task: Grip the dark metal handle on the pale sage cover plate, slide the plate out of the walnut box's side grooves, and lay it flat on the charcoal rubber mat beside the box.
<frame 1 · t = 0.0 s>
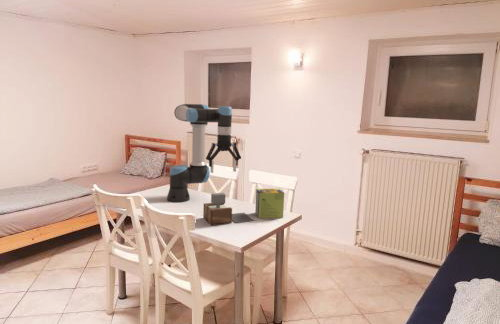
hand: (223, 171, 199), 28 cm above the table, tool pointing down, fingers open, 13 cm apart
protein box: (268, 215, 215), on the table
cover plate: (218, 209, 201), point 6 cm above the table, touching walnut box
walnut box: (217, 220, 202), on the table
rubber mat: (239, 217, 208), on the table
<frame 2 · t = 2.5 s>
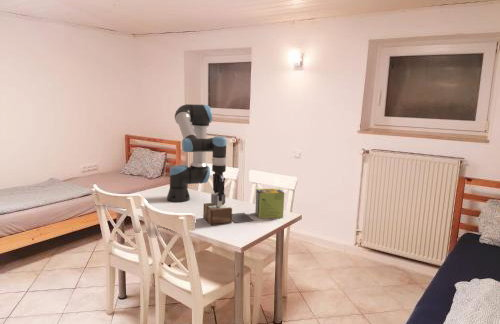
hand: (218, 205, 200), 9 cm above the table, tool pointing down, fingers closed on cover plate, 4 cm apart
cover plate: (218, 209, 201), point 6 cm above the table, touching gripper, walnut box
everything else where it was.
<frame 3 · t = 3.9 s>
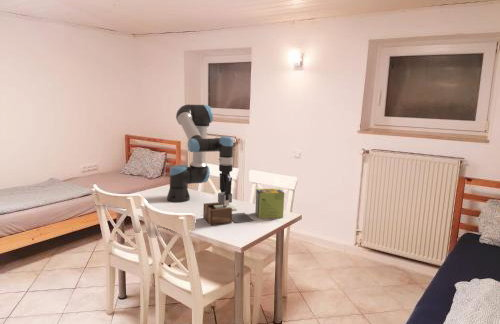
hand: (224, 204, 202), 9 cm above the table, tool pointing down, fingers closed on cover plate, 4 cm apart
cover plate: (224, 208, 202), point 7 cm above the table, touching gripper
everything else where it was.
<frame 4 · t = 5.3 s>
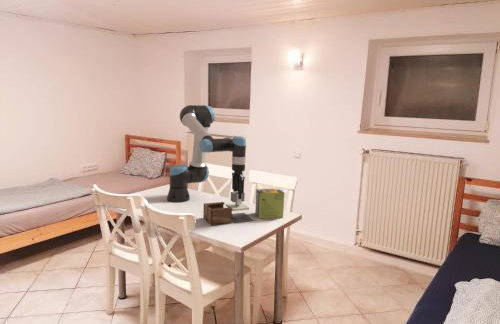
hand: (237, 203, 205), 9 cm above the table, tool pointing down, fingers closed on cover plate, 4 cm apart
cover plate: (237, 207, 206), point 7 cm above the table, touching gripper
everything else where it was.
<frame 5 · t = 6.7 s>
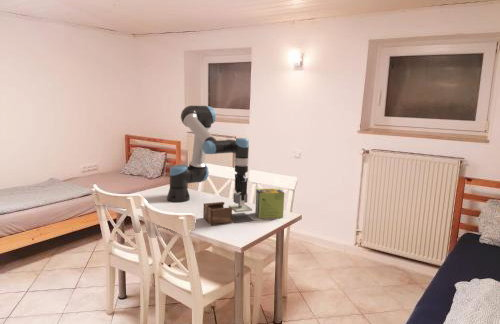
hand: (240, 204, 206), 8 cm above the table, tool pointing down, fingers closed on cover plate, 4 cm apart
cover plate: (240, 208, 207), point 6 cm above the table, touching gripper
everything else where it was.
when the fingers open (4 cm above the table, at t = 8.1 s): cover plate stays where it is, resting on rubber mat.
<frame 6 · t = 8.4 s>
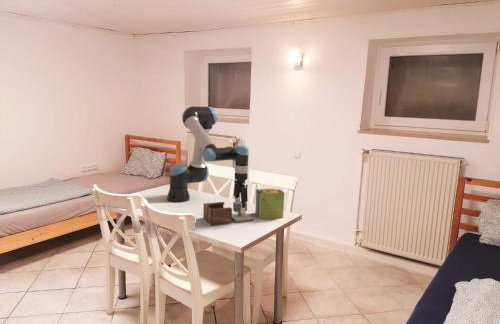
hand: (239, 210, 207), 4 cm above the table, tool pointing down, fingers open, 7 cm apart
cover plate: (239, 217, 208), resting on rubber mat
everything else where it was.
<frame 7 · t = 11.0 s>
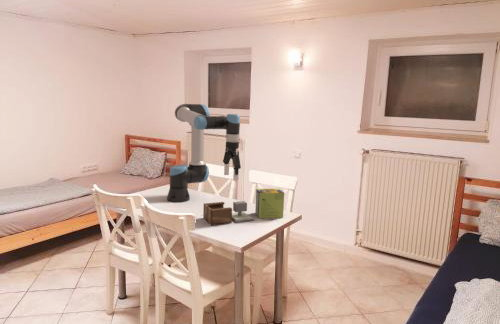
hand: (230, 177, 206), 24 cm above the table, tool pointing down, fingers open, 13 cm apart
nothing on the table moved.
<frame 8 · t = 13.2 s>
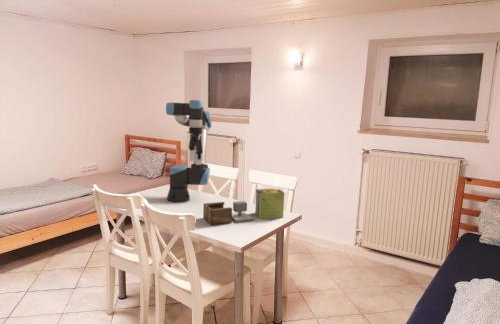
hand: (195, 162, 209), 31 cm above the table, tool pointing down, fingers open, 13 cm apart
nothing on the table moved.
at the end: cover plate inside the target area (0.0 cm from its centre), resting on rubber mat; cover plate tilted 0°; the gripper is holding nothing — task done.
